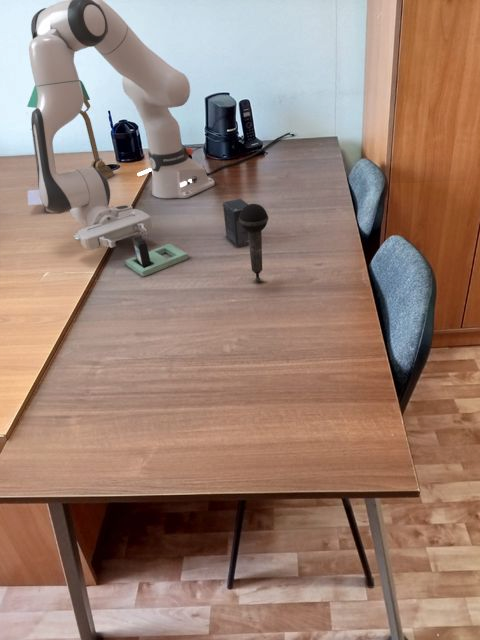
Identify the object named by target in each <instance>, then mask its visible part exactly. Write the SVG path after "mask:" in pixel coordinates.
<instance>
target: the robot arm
mask: <svg viewBox="0 0 480 640" xmlns="http://www.w3.org/2000/svg"><path fill="white" fill-rule="evenodd" d="M30 30H31V31H30V32H31V37H32V40H31V41H30V42H29V45H28V53H29V61H30V67H31V68H30V69H31V72H32V73H31V74H32V77H33V81H34V84H35V85H36V86H39V87H36V88H37V93H38V103H37V108H35V109H34V110H33V111H32V112H31V121H30V122H31V124H30V125H31V133H32V141H33V142H32V143H33V149H34V156H35V163H36V171H37V186H38V188H37V189H39V196H40V199H41V202H42V204H41V205H43V207H44V208H45V209H46V208H47V209H48V210H50V211H52V212H55V213H54V214H58V215H60V214H63V213H66V212H68V211H69V213H70V215H71V218H72V219H73V221H75V222H76V223H77V225H78V226H79V227H81V229H79V230H78V231H76V233H75V234H74V235H73V239H74V240H75V241H77V242H80V244H81V246H82V247H83V249H85V250H87V251H94V250H95V249H98V248H102V247H109V248H111V249H112V248H115V247H117V242H118V241H121V240H124V239H127V238H130V237H133V236H135V235H137V234H139V236H141V237H146V236H148V235H149V234H148V231H149V230H151V229H152V228H153V221H152V217H151V215H150V214H148V213H146V212H145V211H142V210H141V209H137V208H134V207H133V205H131V204H126V205H125V204H124V205H119V206H109V205H110V200H111V189H110V188H111V187H110V185H109V182H108V180H107V179H108V178H105V176H104V175H103V174H102V173H101V172H100V171H99V170H97V169H96V168H94V167H92V166H91V165H90V166H87V167H82V168H76V169H74V170H69V171H66V172H60V173H57V167H56V162H55V161H56V160H55V152H54V151H55V150H54V142H53V141H54V139H55V136H56V134H57V132H58V131H59V130H61V129H62V128H64V127H65V126H66V125H68V124H69V123H71V122H72V121H74V120H75V119H76V117H78V116H79V114H80V111H81V110H82V109H83V106H84V101H83V92H82V88H81V84H80V81H79V80H80V76H79V74H78V73H79V72H78V70H77V66H76V64H75V53H77V52H79V51H82V50H84V49H87V48H92V47H93V48H94V49H95V50H96V51H97V52H98V53H99V54H100V56H102V58H103V59H104V60H105V61H106V62H107V63H108V64H109V65H110V66H111V67H112V68H113V70H115V71H116V72H117V73H118V74H119V75H120V76H122V80H121V84H122V89H123V92H124V93H125V95H126V96H127V97H128V99H130V100H131V102H132V103H133V105H134V107H135V109H136V111H137V113H138V115H139V117H140V119H141V121H142V124H143V127H144V132H145V138H146V142H147V147H148V151H147V155H148V161H149V166H150V167H149V168H148V169H145V170H143V171H140V172H138V173H137V176H138V177H140V176H143V175H146V174H147V173H149V172H151V176H152V177H151V178H152V185H151V186H152V187H151V195H152V196H153V197H154V198H155V197H156V198H159V199H188V198H190V197H192V196H194V195H196V194H198V193H201V192H203V191H205V190H207V189H209V188H211V187H214V186H216V183H215V180H214V179H213V178H211V177H209V176H210V175H213V174H215V173H216V172H217V171H219V170H222V169H224V168H228V167H231V166H233V165H236V164H239V163H242V162H244V161H246V160H248V159H251V158H253V157H255V156H257V155H258V154H260V153H262V152H263V151H264V150H266V149H267V148H269V147H270V146H271V145H273V144H275V142H277V141H279V140H280V139H281V140H282V139H283V138H285V137H287V136H292V137H295V134H294V133H293V134H290V133H291V132H287V133H285V134H283V135H280V136H278V137H276V138H275V139H274V140H272V141H271V142H269V143H268V144H266V145H265V146H264V147H262V148H261V149H259V150H258V151H256V152H254V153H251V154H250V155H248V156H246V157H244V158H240V159H239V160H236V161H233V162H230V163H227V164H224V165H220V166H218V167H216V168H215V169H214V170H212V171H210V172H207V170H206V168H205V166H204V165H202V164H200V163H199V162H197V161H196V160H194V159H192V158H191V157H189V155H190V156H192V155H193V154H194V149H193V148H190V147H187V148H186V147H184V146H183V143H182V136H181V129H180V124H179V122H178V120H177V119H176V118H175V117H174V116H173V115H172V113H171V111H170V109H172V108H178V107H182V106H184V105H185V104H186V103H187V102H188V101H189V98H190V94H191V85H190V80H189V79H188V77H187V76H186V75H185V74H184V73H183V72H181V71H179V70H177V69H176V68H175V67H173V66H172V65H170V64H169V63H167V62H166V61H165V60H164V59H162V57H160V56H159V55H158V54H156V52H154V51H153V50H152V49H151V48H149V47H148V46H147V45H146V44H145V43H144V42H143V41H142V40H141V39H140V38H139V36H138V35H137V33H136V32H134V31H133V30H132V28H131V27H130V26H129V24H128V23H127V22H126V21H125V20H124V19H123V17H121V16H120V15H119V13H118V12H116V11H115V9H114V8H112V6H110V5H109V4H108V3H106V2H105V1H104V0H62V1H59V2H56V3H55V4H52V5H50V6H48V7H44V8H41V9H40V10H38V11H37V12H35V14H34V15H33V16H32V19H31V23H30ZM73 81H75V82H73ZM35 85H34V86H35Z"/></svg>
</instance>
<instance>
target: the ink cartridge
mask: <svg viewBox="0 0 480 640" xmlns="http://www.w3.org/2000/svg"><path fill="white" fill-rule="evenodd" d="M131 239H132V245H133V249H134V254H135V256H136V259H137V263H138V264H139V265H140V266H142V267H143V268H146V267H148V266H151V262H150V257H149V252H148V251H149V248H148V242H147V241H146V240H145V239H144V238H143V236H141V235H139V236H136V237H132V238H131Z"/></svg>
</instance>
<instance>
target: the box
mask: <svg viewBox="0 0 480 640" xmlns="http://www.w3.org/2000/svg"><path fill="white" fill-rule="evenodd" d="M247 205H249V203H248V202H246V201H245V200H243V199H242V198H237V199H236V198H235V199H232V200H228V201H224V202H222V207H223V217H224V227H225V236H226V238H227V239H228V240H229V241H230V242H231V243H232V244H234V245H235V246H236V247H237V248H238V247H242V246H246V245H249V240H248V232H247V231H246V230H245V229H243V227H242V226H241V224H240V222H239V217H240V213H241V211H242V209H243V208H244V207H245V206H247Z"/></svg>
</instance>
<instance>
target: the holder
mask: <svg viewBox="0 0 480 640" xmlns="http://www.w3.org/2000/svg"><path fill="white" fill-rule="evenodd" d="M148 252H149V257H150V262H151V266H148V267H146V268H143V267H142V266H140V265H139V264H138V263H137V259H136V255H135V256H133V257H130V258H128V259H125V265H126V266H127V267H128V268H130V269H131V270H132V271H134V272H135V273H137V274H139V275H140V276H142V277H146V276H149V275H151V274H154V273H157V272H159V271H162V270H163V269H166V268H169V267H170V266H173V265H175V264H178V263H181V262H183V261H185V260H188V259H189V256H188V252H185V250H182V249H181V248H178V247H177V246H175V245H174V244H171V243H167V244H164V245H161V246H159V247H156V248H154V249H150V250H148ZM165 253H166V254H168V255H169V256H171V257H168V258H166V257H165V256H163V254H165Z"/></svg>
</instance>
